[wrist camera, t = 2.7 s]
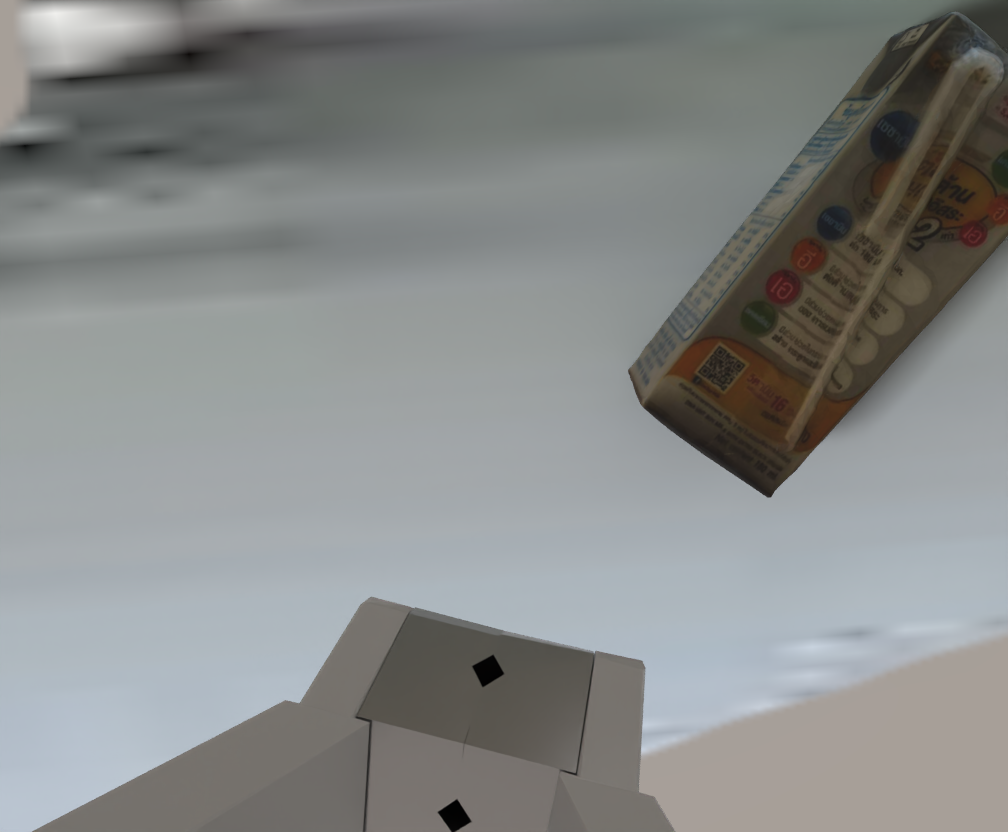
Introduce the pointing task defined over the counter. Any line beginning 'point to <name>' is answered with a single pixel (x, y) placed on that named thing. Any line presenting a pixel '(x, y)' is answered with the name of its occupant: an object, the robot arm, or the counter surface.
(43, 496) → the counter surface
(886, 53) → the beverage carton
